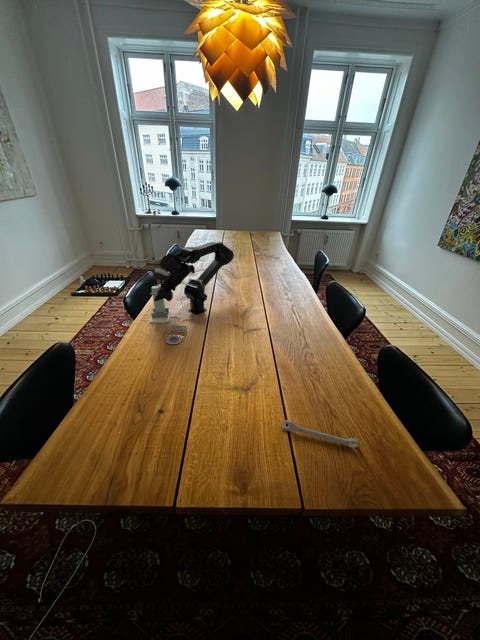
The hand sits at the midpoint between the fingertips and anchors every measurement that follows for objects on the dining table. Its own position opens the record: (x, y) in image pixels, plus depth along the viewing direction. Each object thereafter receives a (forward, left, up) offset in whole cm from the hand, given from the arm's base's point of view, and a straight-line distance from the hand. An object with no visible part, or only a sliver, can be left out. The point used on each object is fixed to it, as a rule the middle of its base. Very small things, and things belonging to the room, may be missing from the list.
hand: (155, 299), depth 113 cm
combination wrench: (-83, +8, -10) cm, 84 cm away
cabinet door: (-1, -1, -7) cm, 7 cm away
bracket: (-19, +4, -10) cm, 22 cm away
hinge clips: (-1, -1, -9) cm, 9 cm away
